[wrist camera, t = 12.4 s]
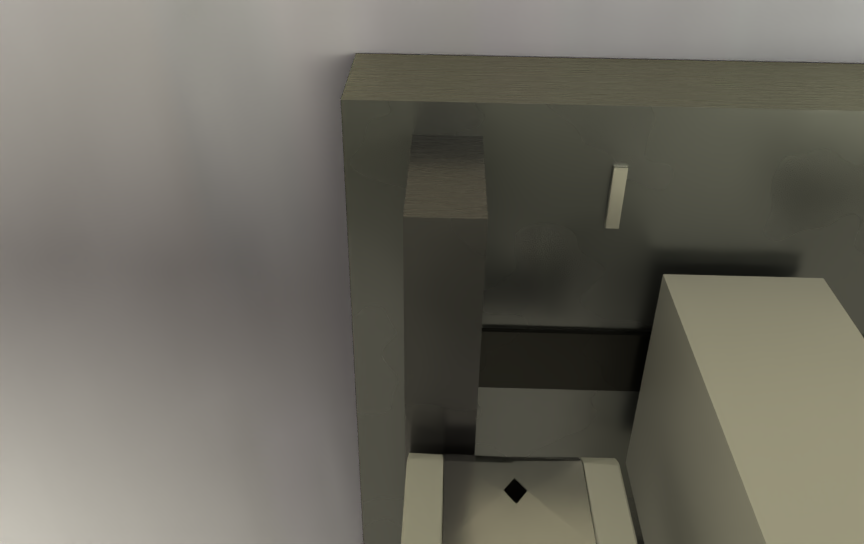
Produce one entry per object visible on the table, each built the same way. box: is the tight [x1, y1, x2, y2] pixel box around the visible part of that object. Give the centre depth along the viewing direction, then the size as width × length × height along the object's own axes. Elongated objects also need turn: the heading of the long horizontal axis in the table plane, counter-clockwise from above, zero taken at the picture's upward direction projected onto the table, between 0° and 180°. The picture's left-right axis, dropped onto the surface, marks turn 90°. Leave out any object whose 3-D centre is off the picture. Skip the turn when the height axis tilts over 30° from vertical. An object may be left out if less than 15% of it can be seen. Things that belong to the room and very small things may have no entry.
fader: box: [626, 274, 864, 544], centre depth 11 cm, size 2×4×5 cm, turn 179°
